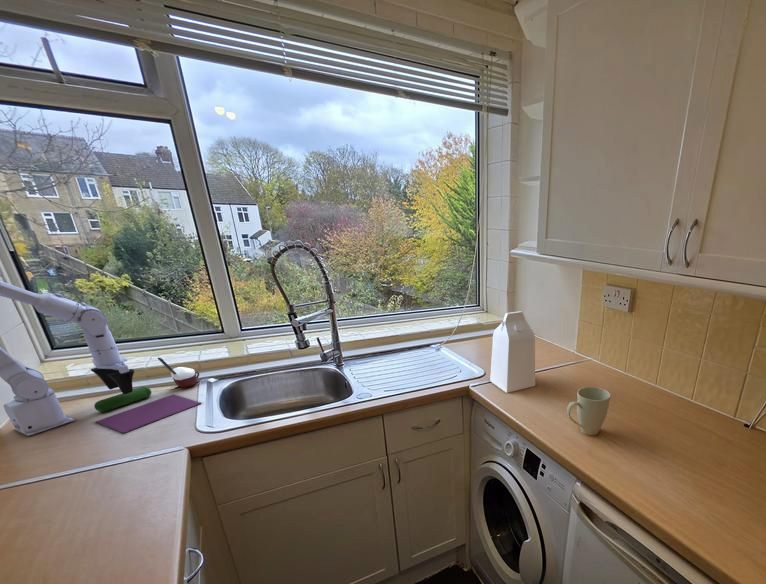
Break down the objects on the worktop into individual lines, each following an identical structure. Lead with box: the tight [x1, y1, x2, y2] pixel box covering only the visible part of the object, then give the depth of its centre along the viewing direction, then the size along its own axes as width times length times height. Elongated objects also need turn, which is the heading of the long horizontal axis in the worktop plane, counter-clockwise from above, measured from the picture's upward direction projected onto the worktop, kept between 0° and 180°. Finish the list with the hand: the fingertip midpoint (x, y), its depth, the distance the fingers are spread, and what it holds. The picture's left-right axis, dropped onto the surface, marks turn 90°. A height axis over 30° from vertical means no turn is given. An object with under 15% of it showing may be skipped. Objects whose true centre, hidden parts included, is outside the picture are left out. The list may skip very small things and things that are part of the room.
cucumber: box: [94, 386, 152, 413], centre depth 125 cm, size 14×4×4 cm, turn 156°
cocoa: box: [157, 357, 200, 389], centre depth 136 cm, size 10×6×12 cm, turn 137°
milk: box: [489, 310, 536, 394], centre depth 141 cm, size 12×12×26 cm
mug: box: [566, 386, 611, 436], centre depth 113 cm, size 11×10×12 cm
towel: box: [95, 394, 202, 434], centre depth 121 cm, size 20×14×1 cm
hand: (120, 390), depth 123 cm, fingers open, 7 cm apart
